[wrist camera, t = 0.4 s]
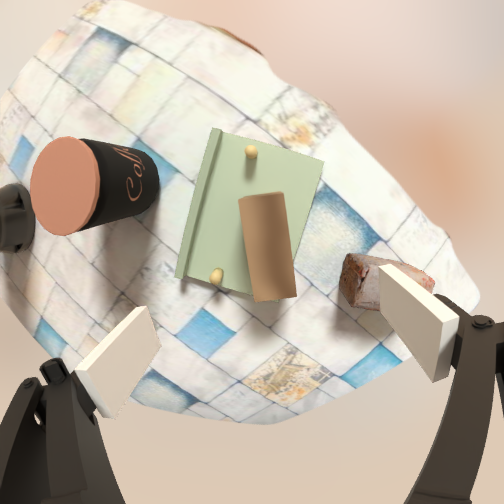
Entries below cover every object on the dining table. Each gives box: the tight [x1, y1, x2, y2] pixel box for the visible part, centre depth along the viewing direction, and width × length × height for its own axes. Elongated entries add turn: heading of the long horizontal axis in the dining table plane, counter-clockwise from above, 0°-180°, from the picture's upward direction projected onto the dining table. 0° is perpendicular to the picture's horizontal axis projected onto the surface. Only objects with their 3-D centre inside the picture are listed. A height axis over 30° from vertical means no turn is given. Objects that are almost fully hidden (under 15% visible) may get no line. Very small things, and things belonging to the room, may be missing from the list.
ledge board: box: [174, 128, 324, 303], centre depth 38 cm, size 16×22×4 cm
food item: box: [339, 253, 435, 311], centre depth 37 cm, size 14×8×10 cm, turn 80°
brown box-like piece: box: [238, 191, 297, 302], centre depth 35 cm, size 5×12×9 cm, turn 9°
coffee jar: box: [30, 136, 159, 236], centre depth 32 cm, size 11×11×18 cm
